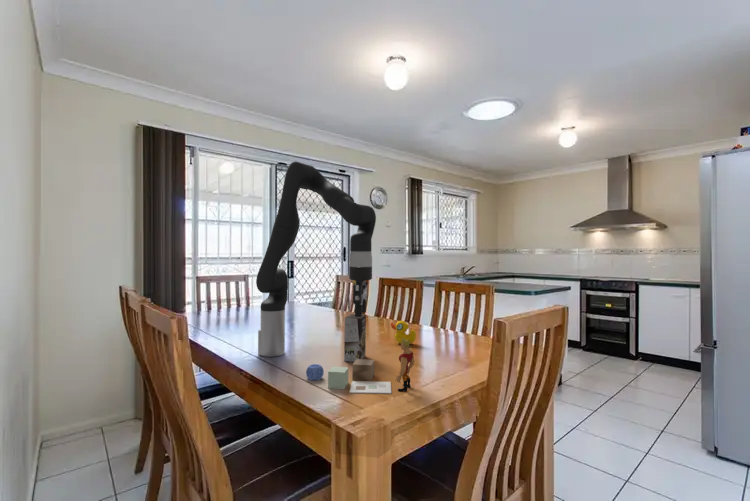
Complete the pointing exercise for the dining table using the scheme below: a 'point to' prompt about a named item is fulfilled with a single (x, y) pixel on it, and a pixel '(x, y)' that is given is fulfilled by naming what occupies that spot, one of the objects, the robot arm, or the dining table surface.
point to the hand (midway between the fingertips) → (360, 314)
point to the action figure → (405, 364)
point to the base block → (363, 369)
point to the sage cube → (338, 377)
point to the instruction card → (370, 387)
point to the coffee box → (355, 338)
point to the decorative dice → (314, 372)
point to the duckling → (402, 328)
